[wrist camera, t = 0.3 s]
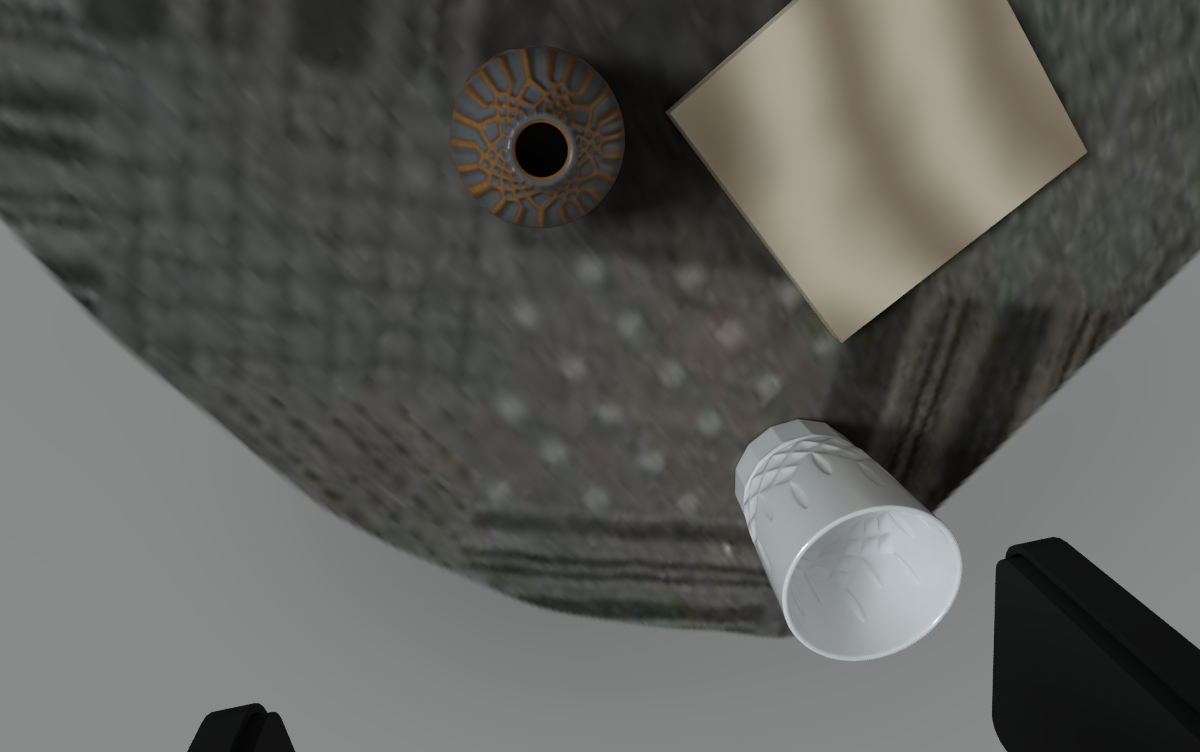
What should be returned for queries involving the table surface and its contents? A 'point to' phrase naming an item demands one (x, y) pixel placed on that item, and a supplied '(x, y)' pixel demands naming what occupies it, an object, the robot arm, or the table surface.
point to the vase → (537, 136)
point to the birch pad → (877, 140)
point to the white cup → (844, 543)
